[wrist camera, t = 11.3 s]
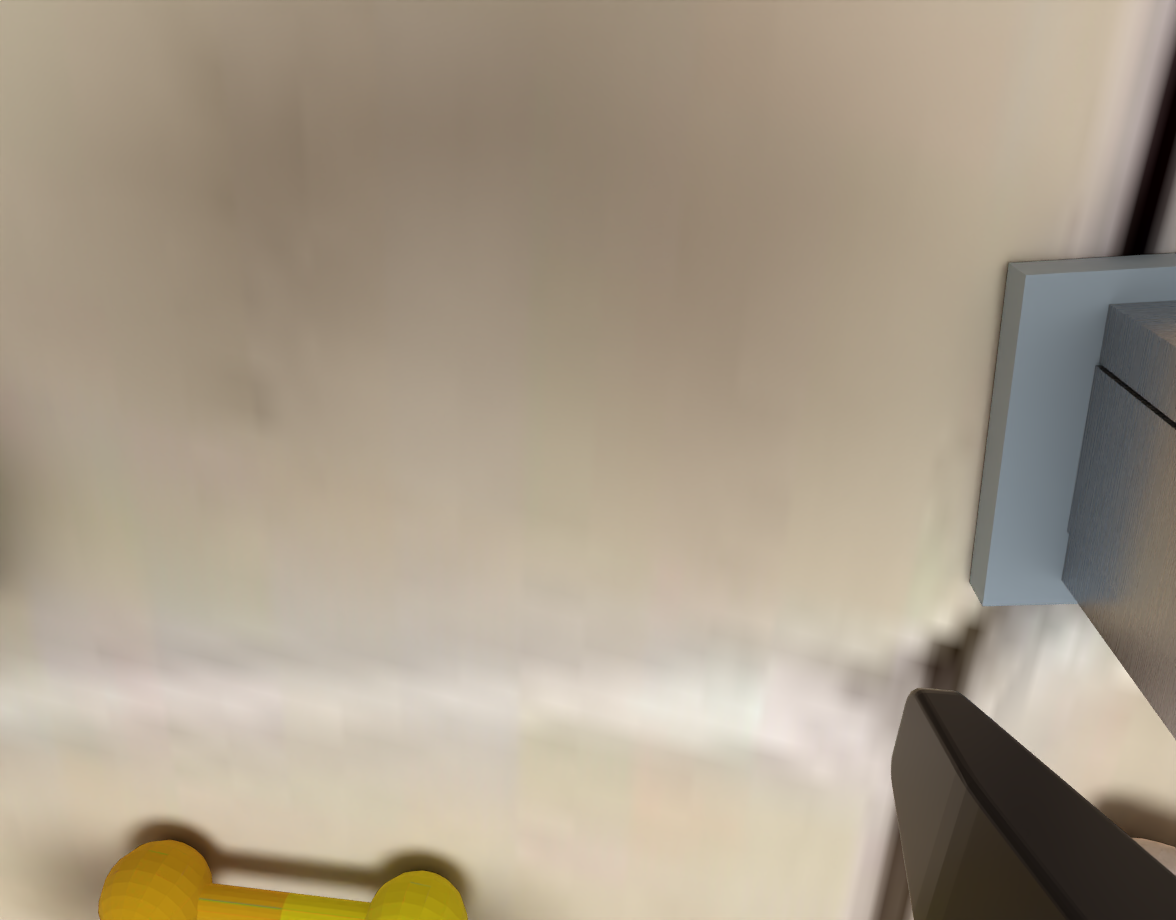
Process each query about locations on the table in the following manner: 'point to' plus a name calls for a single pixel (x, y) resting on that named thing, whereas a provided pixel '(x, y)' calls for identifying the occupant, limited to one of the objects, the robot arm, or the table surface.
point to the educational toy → (255, 894)
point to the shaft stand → (1046, 415)
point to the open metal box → (1131, 500)
